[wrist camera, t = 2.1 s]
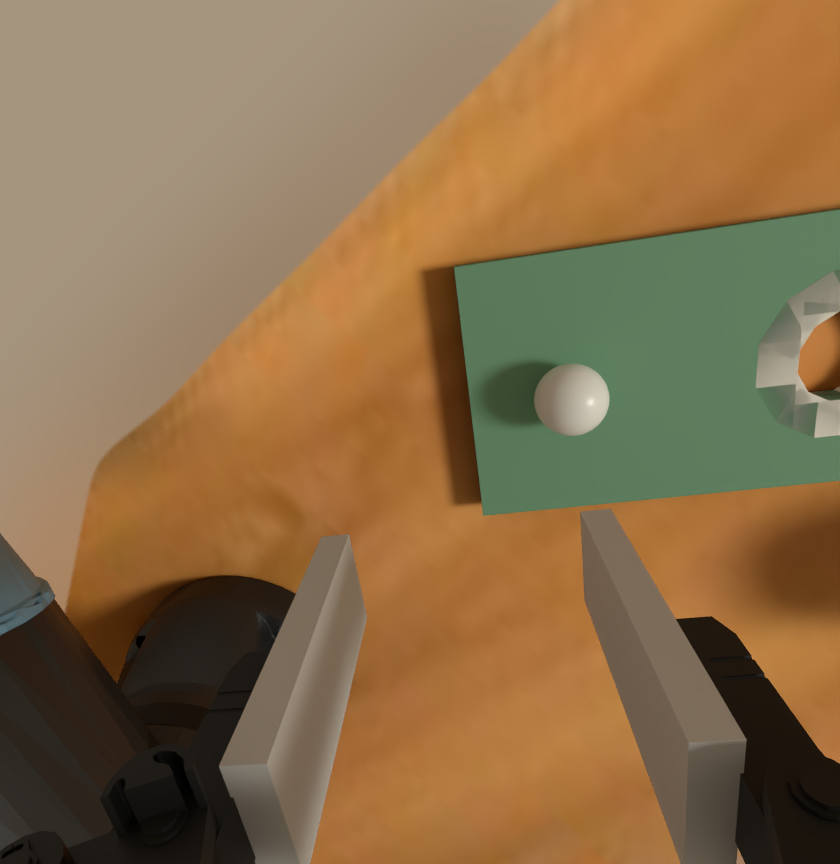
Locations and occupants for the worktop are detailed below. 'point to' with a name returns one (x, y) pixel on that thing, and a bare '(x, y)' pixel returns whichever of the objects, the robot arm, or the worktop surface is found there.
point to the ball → (571, 399)
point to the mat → (655, 364)
